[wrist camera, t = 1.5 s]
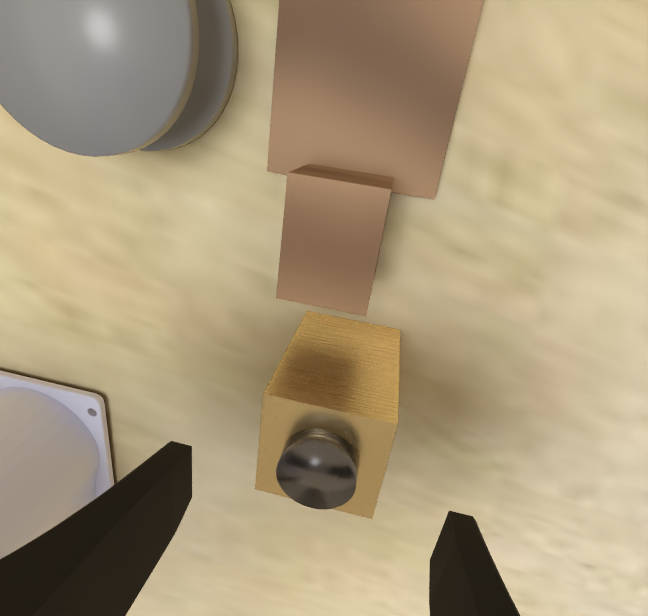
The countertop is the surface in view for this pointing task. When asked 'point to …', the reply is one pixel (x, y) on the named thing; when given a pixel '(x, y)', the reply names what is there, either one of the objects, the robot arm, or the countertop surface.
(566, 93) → the countertop surface
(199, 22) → the grey yo-yo
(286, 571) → the countertop surface
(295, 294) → the notched board
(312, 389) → the golden wooden block
